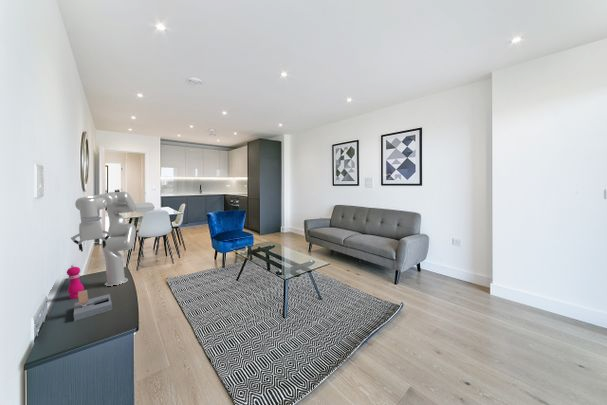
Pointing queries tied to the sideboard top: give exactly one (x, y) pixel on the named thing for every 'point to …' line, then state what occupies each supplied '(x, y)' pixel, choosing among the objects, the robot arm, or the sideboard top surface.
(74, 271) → the pepper mill
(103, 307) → the keyhole board
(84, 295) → the keyhole peg
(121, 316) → the sideboard top surface
